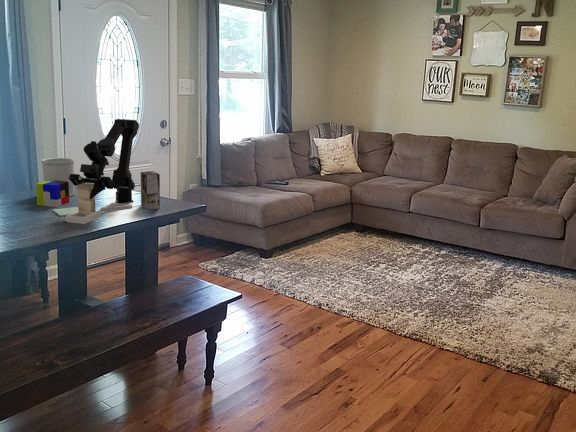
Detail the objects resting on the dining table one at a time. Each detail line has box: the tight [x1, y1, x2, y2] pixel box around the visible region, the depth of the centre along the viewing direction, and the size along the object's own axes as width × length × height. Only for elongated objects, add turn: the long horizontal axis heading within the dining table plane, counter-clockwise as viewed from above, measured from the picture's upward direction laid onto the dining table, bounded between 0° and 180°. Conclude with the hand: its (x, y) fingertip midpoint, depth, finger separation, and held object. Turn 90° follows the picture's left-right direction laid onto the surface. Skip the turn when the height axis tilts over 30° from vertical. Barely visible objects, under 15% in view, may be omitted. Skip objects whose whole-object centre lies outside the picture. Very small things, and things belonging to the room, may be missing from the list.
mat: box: [51, 206, 78, 217], centre depth 260 cm, size 11×11×1 cm
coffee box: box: [140, 170, 161, 210], centre depth 273 cm, size 9×6×16 cm
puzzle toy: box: [35, 180, 70, 208], centre depth 272 cm, size 10×10×10 cm
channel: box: [64, 210, 102, 225], centre depth 249 cm, size 13×8×2 cm, turn 168°
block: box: [76, 183, 97, 215], centre depth 250 cm, size 5×5×12 cm
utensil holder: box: [40, 157, 76, 198], centre depth 289 cm, size 15×15×18 cm
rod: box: [100, 204, 133, 212], centre depth 268 cm, size 14×2×2 cm, turn 127°
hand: (84, 197), depth 249 cm, fingers closed on block, 5 cm apart
